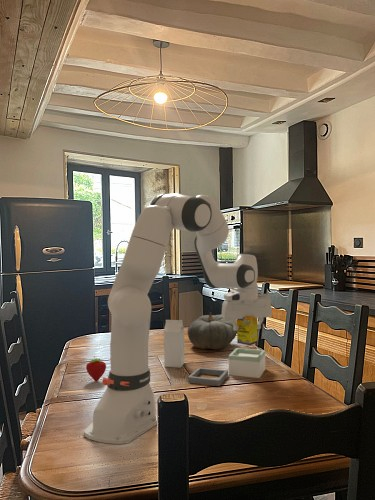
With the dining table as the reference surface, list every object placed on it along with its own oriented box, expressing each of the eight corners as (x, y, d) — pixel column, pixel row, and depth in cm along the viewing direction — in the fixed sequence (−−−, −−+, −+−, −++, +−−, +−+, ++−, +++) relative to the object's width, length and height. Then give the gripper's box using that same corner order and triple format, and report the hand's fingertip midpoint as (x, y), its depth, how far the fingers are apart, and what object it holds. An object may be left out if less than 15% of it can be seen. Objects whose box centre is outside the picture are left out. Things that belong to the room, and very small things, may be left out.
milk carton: (181, 368, 165) (180, 322, 165) (164, 367, 166) (163, 321, 166) (184, 362, 172) (184, 318, 172) (168, 362, 173) (167, 318, 173)
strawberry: (104, 384, 147) (103, 356, 147) (84, 384, 147) (83, 357, 147) (108, 378, 153) (107, 352, 153) (88, 378, 153) (88, 352, 153)
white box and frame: (252, 390, 139) (252, 368, 139) (188, 382, 148) (187, 362, 147) (265, 368, 162) (265, 350, 162) (209, 363, 171) (208, 345, 171)
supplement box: (237, 343, 158) (236, 315, 158) (244, 340, 163) (244, 313, 162) (250, 345, 154) (249, 317, 154) (257, 342, 159) (257, 315, 159)
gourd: (239, 335, 211) (235, 303, 208) (240, 356, 186) (235, 320, 183) (192, 339, 214) (187, 308, 211) (187, 360, 189) (182, 326, 186)
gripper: (267, 292, 164) (267, 326, 164) (219, 294, 159) (220, 329, 159) (274, 294, 158) (274, 329, 158) (225, 296, 153) (226, 332, 153)
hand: (247, 329), depth 158 cm, fingers closed on supplement box, 8 cm apart
